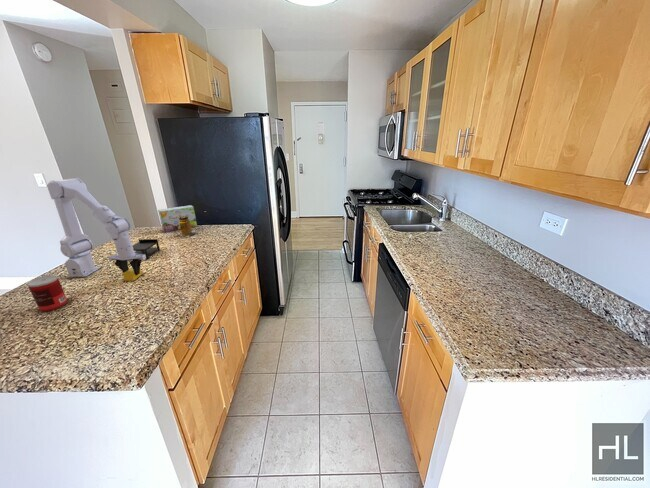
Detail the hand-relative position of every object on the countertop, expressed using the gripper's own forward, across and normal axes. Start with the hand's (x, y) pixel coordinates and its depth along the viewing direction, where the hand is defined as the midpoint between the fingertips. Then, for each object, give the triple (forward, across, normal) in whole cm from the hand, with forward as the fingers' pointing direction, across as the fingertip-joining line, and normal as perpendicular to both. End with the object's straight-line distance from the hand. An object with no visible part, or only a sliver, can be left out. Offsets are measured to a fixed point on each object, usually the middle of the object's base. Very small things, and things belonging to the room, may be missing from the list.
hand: (132, 274), depth 117 cm
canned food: (+2, +16, +21) cm, 26 cm away
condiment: (+2, +1, -59) cm, 59 cm away
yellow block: (+2, 0, 0) cm, 2 cm away
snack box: (+2, +12, -72) cm, 73 cm away
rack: (+2, +10, -26) cm, 28 cm away
